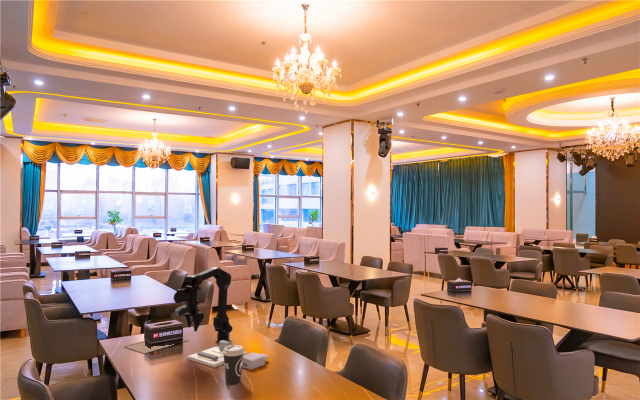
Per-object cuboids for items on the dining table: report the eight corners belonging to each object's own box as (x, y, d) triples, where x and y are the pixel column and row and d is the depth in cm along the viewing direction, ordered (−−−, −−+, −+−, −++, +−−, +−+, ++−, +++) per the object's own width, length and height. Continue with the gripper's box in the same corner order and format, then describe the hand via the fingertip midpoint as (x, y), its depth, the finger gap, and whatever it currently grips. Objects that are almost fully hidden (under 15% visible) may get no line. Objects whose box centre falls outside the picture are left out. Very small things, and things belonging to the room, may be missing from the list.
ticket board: (220, 347, 236) (220, 342, 236) (246, 354, 225) (246, 348, 225) (187, 359, 218) (187, 353, 218) (214, 367, 207) (214, 361, 207)
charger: (274, 362, 215) (251, 370, 204) (261, 358, 221) (238, 366, 210) (274, 352, 216) (251, 360, 204) (261, 348, 221) (238, 356, 210)
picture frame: (144, 355, 225) (188, 341, 248) (144, 353, 225) (188, 340, 248) (124, 347, 236) (168, 335, 259) (124, 346, 236) (168, 334, 259)
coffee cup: (234, 376, 197) (235, 343, 197) (248, 381, 190) (248, 347, 191) (217, 382, 189) (218, 348, 189) (231, 388, 183) (231, 352, 183)
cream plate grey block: (224, 347, 232) (224, 338, 232) (237, 350, 226) (237, 341, 227) (212, 351, 226) (212, 341, 226) (226, 355, 220) (226, 345, 220)
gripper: (170, 298, 227) (170, 328, 227) (183, 305, 212) (183, 336, 212) (191, 295, 234) (191, 324, 233) (204, 302, 219) (204, 332, 219)
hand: (192, 329), depth 224 cm, fingers open, 9 cm apart
